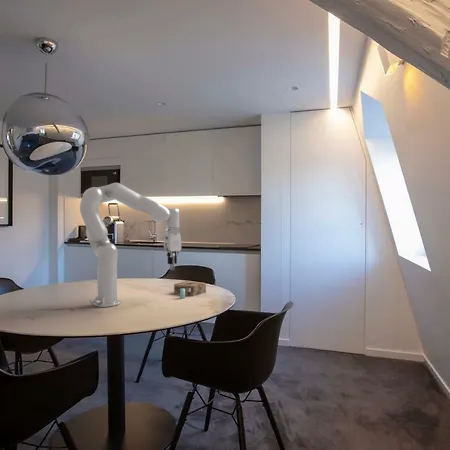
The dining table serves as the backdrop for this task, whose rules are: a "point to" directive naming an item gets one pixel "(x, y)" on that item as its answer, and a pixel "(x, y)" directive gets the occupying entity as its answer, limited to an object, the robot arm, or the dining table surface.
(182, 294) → the short pin
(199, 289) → the bridge
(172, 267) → the long pin
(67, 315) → the dining table surface
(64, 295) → the dining table surface
